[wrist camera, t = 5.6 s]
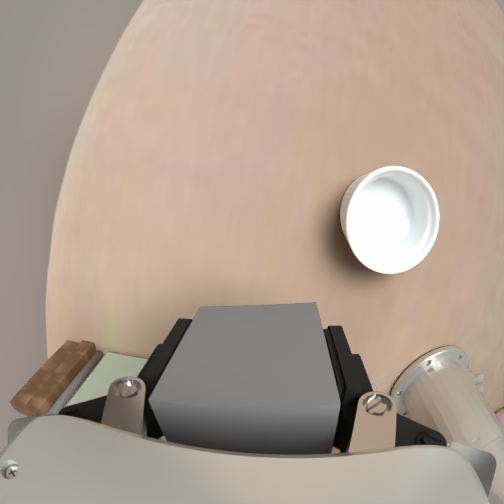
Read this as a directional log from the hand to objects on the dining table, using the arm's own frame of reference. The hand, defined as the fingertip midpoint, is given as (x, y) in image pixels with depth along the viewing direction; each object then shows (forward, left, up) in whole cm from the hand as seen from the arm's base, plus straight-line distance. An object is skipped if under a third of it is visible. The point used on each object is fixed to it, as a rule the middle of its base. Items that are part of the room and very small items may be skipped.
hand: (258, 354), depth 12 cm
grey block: (0, +5, -1) cm, 5 cm away
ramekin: (-11, -4, -16) cm, 19 cm away
